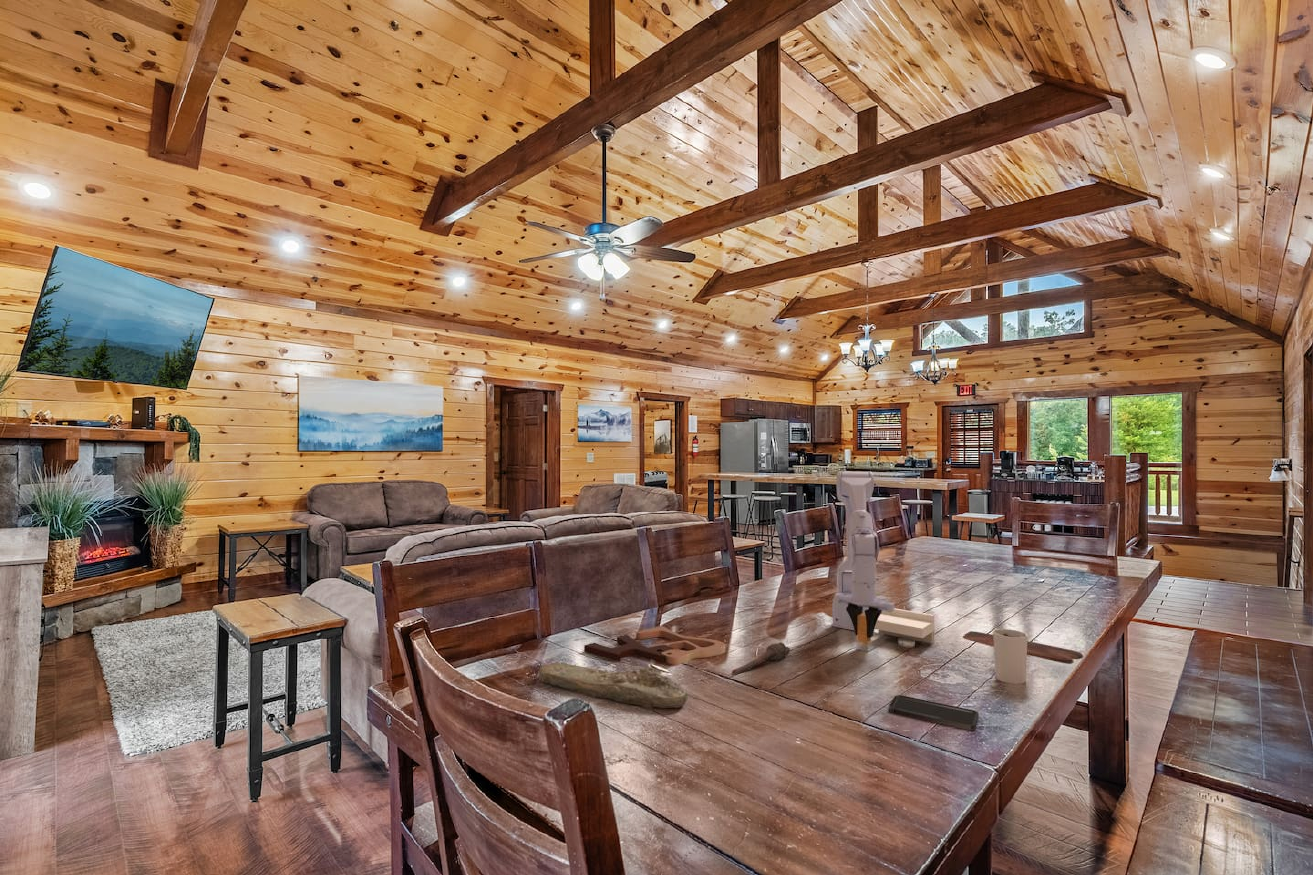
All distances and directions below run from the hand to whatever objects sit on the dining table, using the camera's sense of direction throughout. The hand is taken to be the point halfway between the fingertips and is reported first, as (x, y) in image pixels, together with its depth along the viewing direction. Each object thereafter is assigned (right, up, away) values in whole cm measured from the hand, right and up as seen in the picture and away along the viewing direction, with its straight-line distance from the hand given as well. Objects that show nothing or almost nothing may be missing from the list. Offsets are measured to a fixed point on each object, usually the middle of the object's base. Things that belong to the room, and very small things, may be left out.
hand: (864, 635), depth 155 cm
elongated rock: (-62, -3, -27) cm, 68 cm away
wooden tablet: (+41, -4, +3) cm, 41 cm away
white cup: (+26, -3, -20) cm, 32 cm away
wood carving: (-52, -4, -2) cm, 52 cm away
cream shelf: (+12, -4, +7) cm, 15 cm away
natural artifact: (-27, -4, -9) cm, 29 cm away
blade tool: (+3, -3, +3) cm, 5 cm away
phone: (+1, -3, -38) cm, 38 cm away
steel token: (+12, -4, +4) cm, 13 cm away
